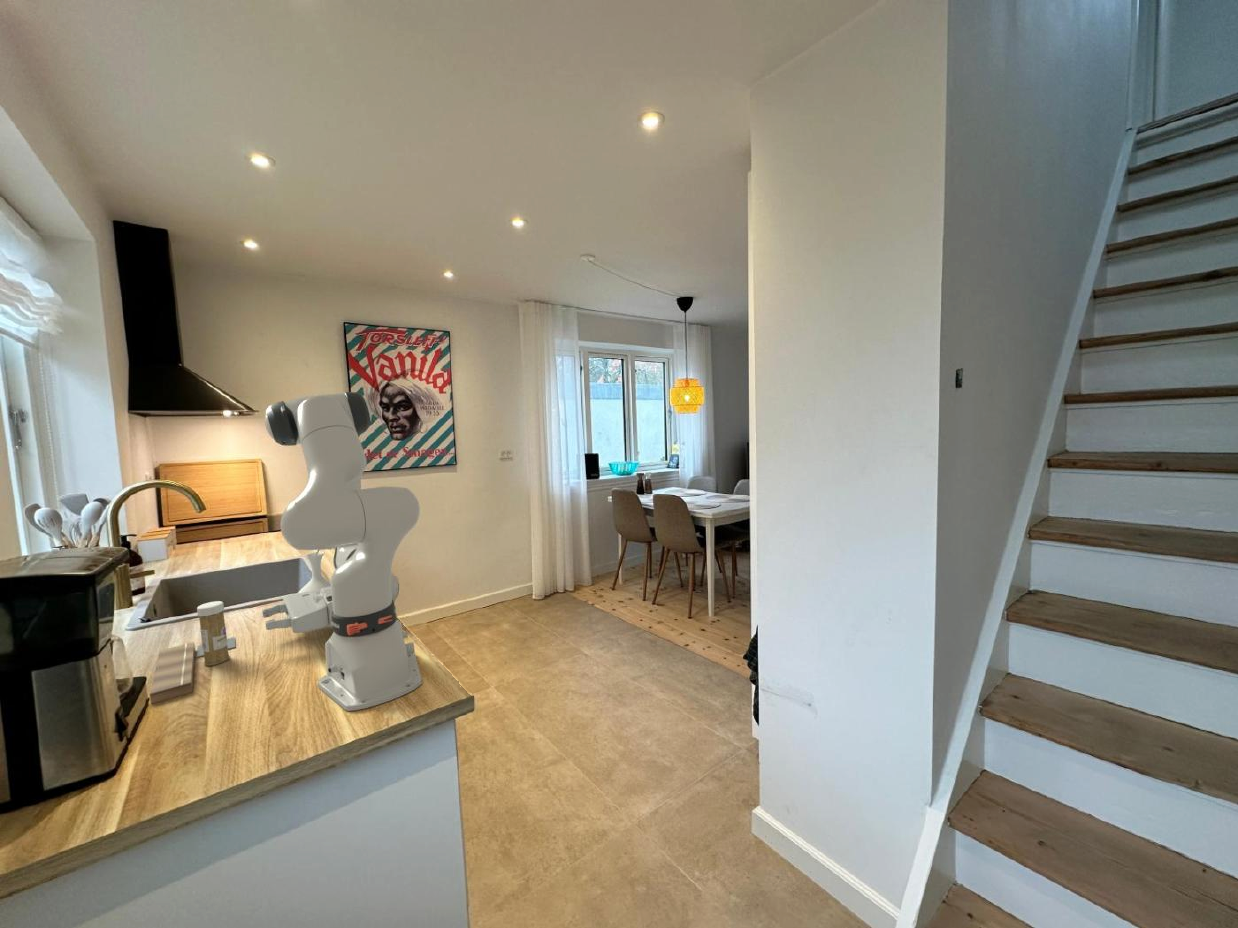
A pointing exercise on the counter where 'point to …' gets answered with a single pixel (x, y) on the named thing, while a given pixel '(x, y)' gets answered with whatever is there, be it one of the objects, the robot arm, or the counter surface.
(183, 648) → the board
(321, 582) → the flower in vase
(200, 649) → the end pad
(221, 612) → the sprinkles bottle
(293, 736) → the counter surface
